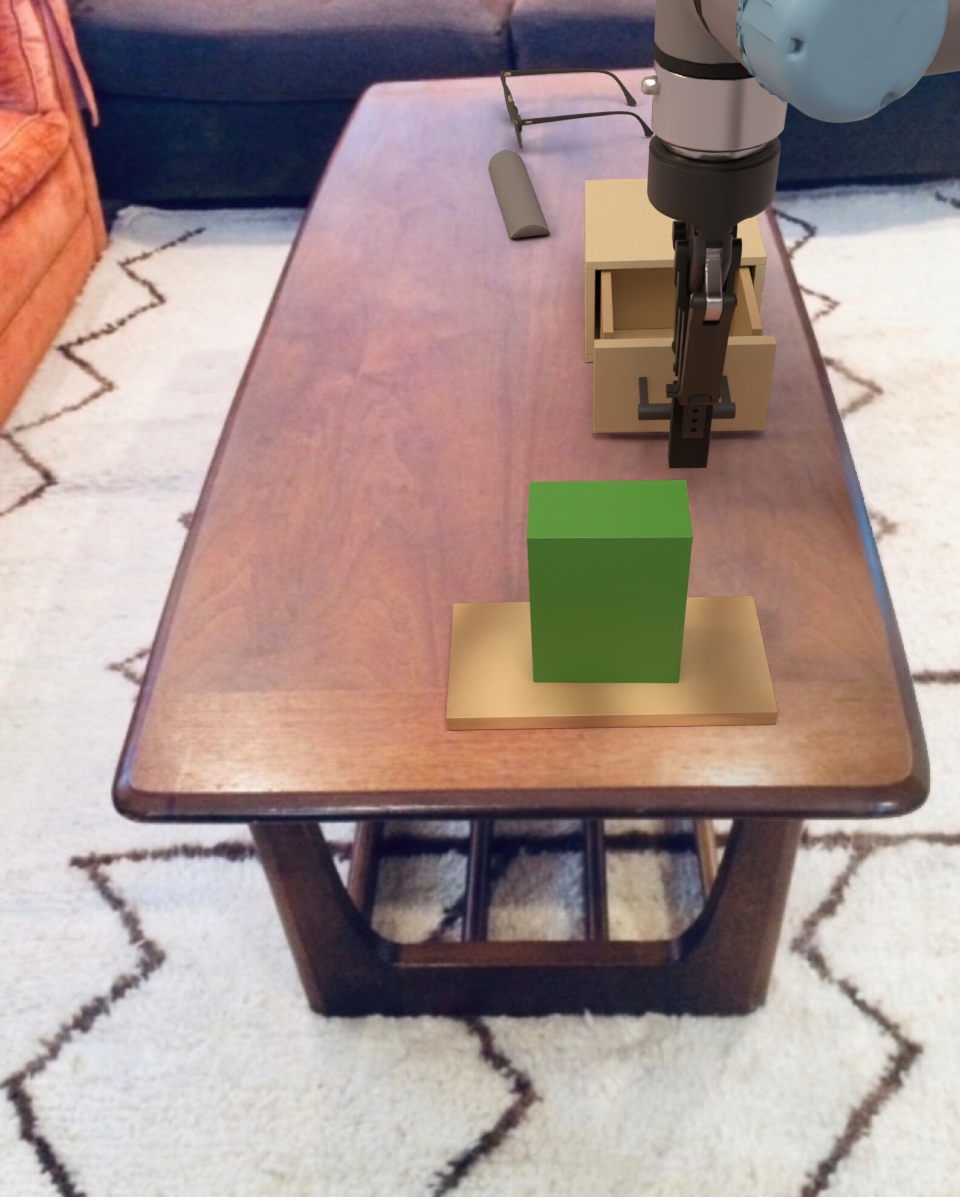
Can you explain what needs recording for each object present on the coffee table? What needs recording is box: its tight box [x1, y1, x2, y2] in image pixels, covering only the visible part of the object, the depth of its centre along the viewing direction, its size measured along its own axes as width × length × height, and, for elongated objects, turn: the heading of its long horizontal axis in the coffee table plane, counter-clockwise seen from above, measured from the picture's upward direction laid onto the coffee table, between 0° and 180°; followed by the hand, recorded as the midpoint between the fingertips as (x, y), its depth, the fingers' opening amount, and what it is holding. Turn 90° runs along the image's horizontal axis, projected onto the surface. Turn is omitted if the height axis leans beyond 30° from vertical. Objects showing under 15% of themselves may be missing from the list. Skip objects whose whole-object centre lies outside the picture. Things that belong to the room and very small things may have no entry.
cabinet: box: [583, 177, 768, 363], centre depth 98 cm, size 16×15×10 cm
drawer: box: [592, 265, 778, 434], centre depth 87 cm, size 19×13×8 cm
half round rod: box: [488, 149, 551, 239], centre depth 120 cm, size 4×20×2 cm, turn 7°
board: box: [445, 595, 779, 731], centre depth 70 cm, size 20×10×1 cm, turn 88°
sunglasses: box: [499, 67, 655, 151], centre depth 132 cm, size 16×17×5 cm
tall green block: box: [526, 479, 694, 683], centre depth 66 cm, size 5×9×12 cm, turn 86°
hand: (687, 461), depth 80 cm, fingers closed
